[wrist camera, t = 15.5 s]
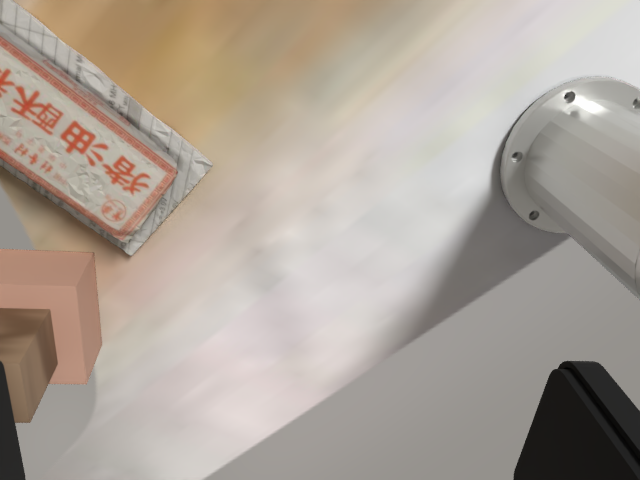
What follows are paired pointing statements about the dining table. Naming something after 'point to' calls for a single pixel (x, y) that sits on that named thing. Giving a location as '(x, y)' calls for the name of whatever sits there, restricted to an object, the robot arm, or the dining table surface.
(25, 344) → the walnut block
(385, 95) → the dining table surface
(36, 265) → the base block
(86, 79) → the packaged product
